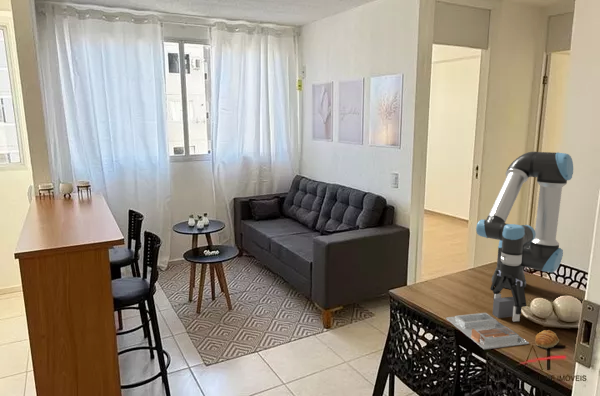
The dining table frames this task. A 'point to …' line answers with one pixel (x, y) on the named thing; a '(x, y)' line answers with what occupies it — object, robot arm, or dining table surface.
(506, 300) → the grey rectangular block
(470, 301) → the dining table surface
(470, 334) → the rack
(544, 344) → the pastry
